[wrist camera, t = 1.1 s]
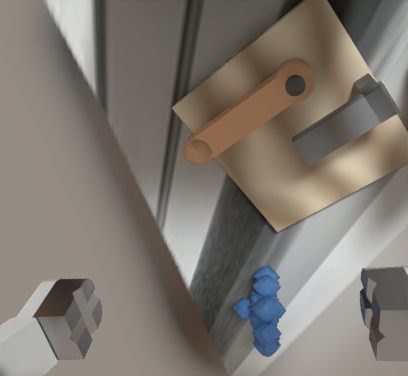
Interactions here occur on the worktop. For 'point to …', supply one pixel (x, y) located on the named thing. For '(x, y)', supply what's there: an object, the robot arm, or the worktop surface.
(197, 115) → the board
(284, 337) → the worktop surface
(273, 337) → the grapes
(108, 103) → the worktop surface
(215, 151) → the link
